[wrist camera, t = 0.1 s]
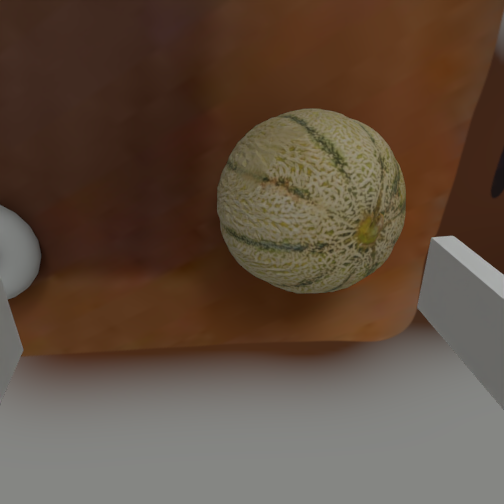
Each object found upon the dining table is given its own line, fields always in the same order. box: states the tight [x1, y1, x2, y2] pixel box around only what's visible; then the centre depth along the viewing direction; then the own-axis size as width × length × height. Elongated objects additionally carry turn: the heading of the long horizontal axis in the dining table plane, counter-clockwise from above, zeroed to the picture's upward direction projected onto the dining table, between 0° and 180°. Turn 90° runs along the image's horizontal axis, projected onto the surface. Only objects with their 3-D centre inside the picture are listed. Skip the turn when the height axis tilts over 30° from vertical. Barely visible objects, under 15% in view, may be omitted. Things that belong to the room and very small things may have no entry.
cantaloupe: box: [217, 109, 406, 293], centre depth 36 cm, size 15×15×15 cm
